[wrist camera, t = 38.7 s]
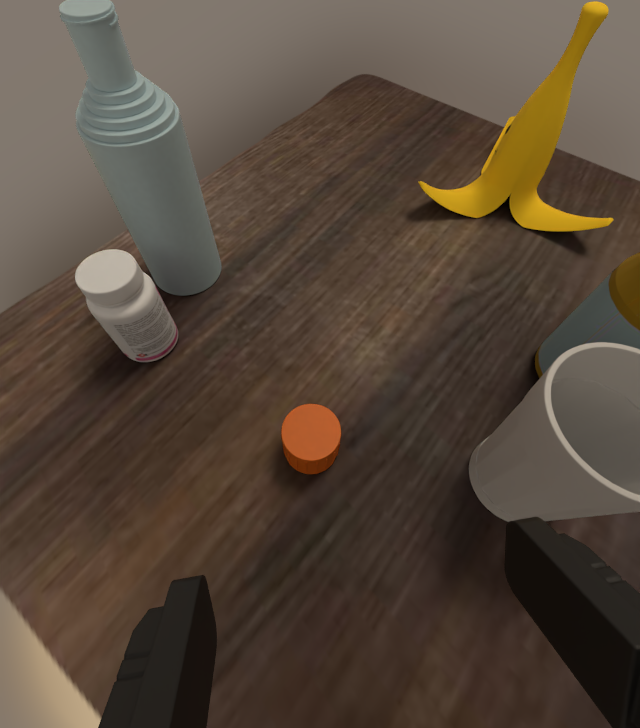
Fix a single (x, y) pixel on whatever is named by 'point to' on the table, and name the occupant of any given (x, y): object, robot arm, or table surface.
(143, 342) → the pill bottle
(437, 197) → the banana peel
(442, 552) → the table surface
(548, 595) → the robot arm
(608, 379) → the cup
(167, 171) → the water bottle
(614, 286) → the bottle
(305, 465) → the cap
